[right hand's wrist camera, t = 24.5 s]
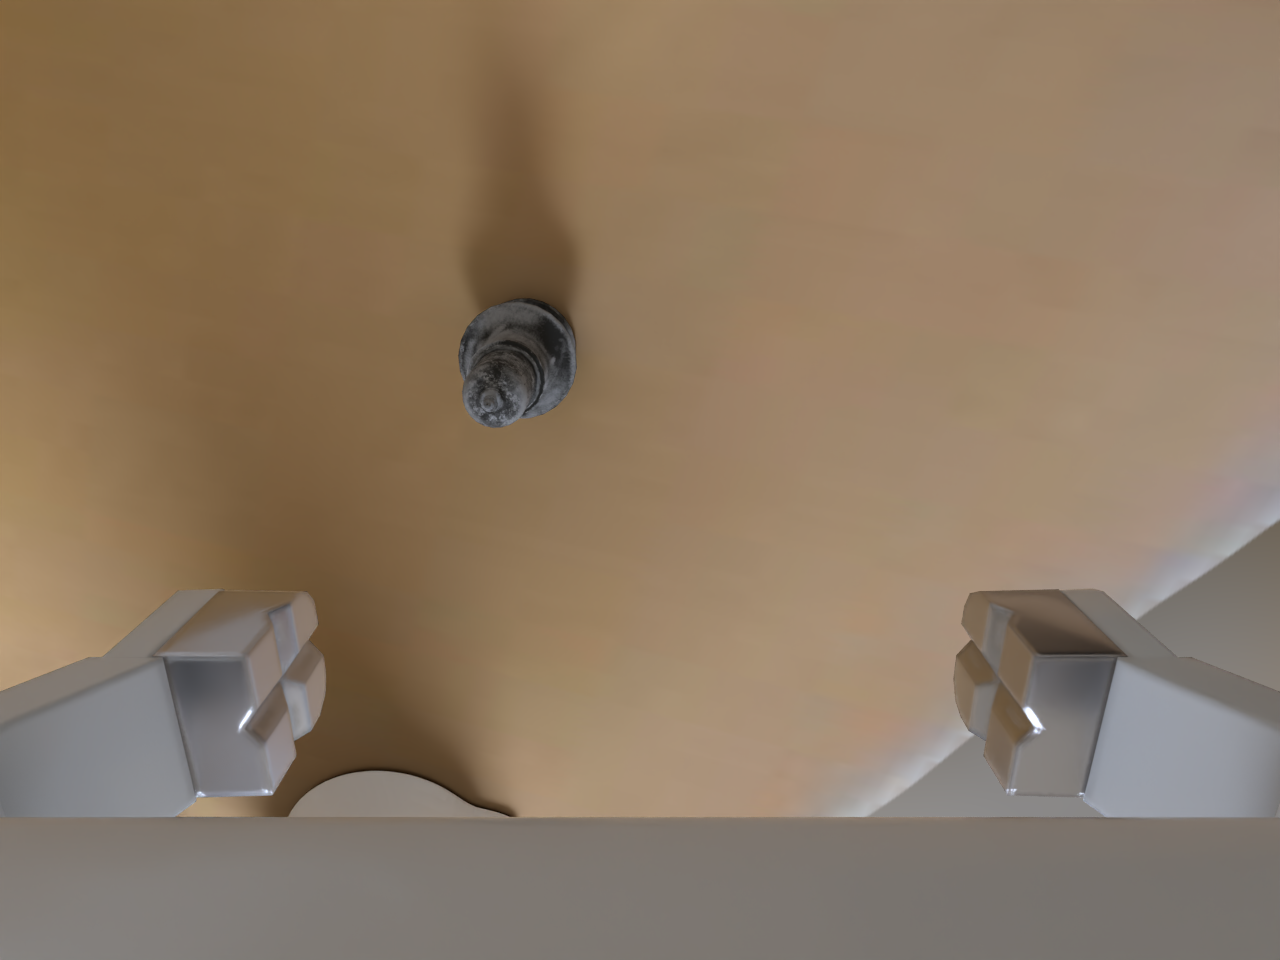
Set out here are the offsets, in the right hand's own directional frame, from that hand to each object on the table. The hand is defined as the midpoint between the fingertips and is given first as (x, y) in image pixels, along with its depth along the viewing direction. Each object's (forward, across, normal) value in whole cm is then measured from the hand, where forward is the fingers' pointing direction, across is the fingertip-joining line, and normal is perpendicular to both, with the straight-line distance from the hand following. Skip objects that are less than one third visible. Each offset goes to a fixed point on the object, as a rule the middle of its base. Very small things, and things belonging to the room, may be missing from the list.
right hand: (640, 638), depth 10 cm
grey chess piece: (+35, -6, -3) cm, 35 cm away
